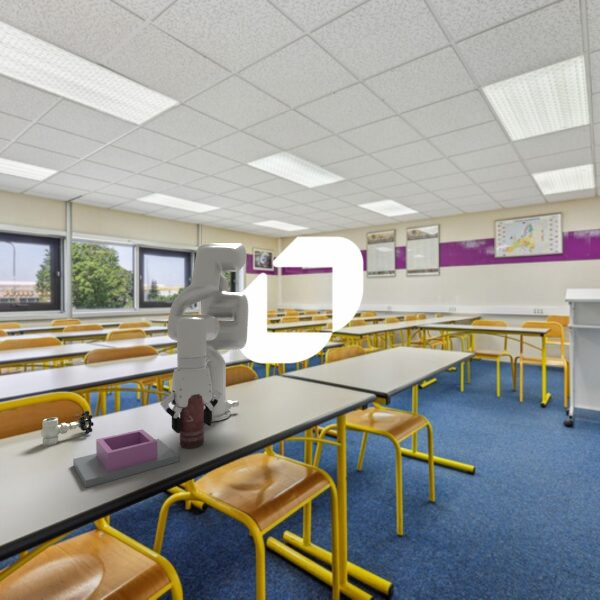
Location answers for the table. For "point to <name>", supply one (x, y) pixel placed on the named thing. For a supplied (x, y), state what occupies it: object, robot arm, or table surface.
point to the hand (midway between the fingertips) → (192, 427)
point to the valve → (63, 428)
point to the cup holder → (123, 457)
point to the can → (192, 423)
